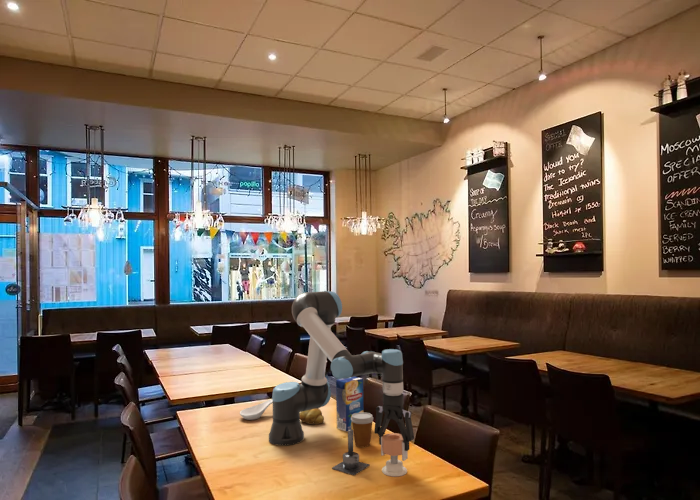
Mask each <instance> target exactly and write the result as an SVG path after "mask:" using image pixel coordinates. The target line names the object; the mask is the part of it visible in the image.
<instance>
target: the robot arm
mask: <svg viewBox="0 0 700 500" xmlns="http://www.w3.org/2000/svg"><path fill="white" fill-rule="evenodd" d="M342 312H343V303H342V300H341V298H340V296H339V295H338V294H337V293H336V292H334V291H329V290H328V291H326V290H324V291H311V292H309V291H307V292H302V293H300V294H298V295H297V296H296V297H295V298H294V300H293V301H292V305H291V314H292V318H293V320H294V321H295V323H296V324H297V325H298V327H302V328H303V329H304V330H305V331H306V332H307V333H308V335H309V345H308V350H307V351H308V353H307V360H306V361H307V362H306V368H305V374H303V376H302V377H301V383H299V382H297V381H288V382H287V381H286V382H283V383H280V384H277V385H276V386H274V387H273V389H272V397H271V399H272V400H273V403H272V424H271V426H270V429H269V430H270V431H269V434H268V442H269V443H270V444H272V445H275V446H292V445H296V444H299V443H301V442H303V441H304V439H305V432H304V430H303V427H302V423H301V420H300V412H302V411H307V410H311V409H315V408H316V409H317V408H319V409H320V408H322V407H324V406H326V405H327V404H329V402H330V400H331V396H332V389H331V386H330V383H329V381H328V379H327V377H325V374H326V367H327V361H328V360H329V361H330V362H331V363H330V372H331V374H332V376H333V377H334V378H335V379H336V380H338V379H346V378H350V377H358V376H364V375H365V376H366V375H369V374H374V373H375V374H378V375H382V379H381V380H382V392H383V394H382V405H378V406H377V407H375V412H376V415H375V422H374V432H373V433H374V434H375V435H378V444H379V445H380V455H381V456H384V455H386V454H384V452H383V451H382V436H384V435H385V434H386V431H387V428H388V425H389V422H390V421H391V420H393V421H395V423H396V424H397V427H398V429H399V432H400V434H401V435H402V437H403V440H404V441H402V455H401V461H402V462H405V461H406V460H407V459H408V451H409V450H410V442H411V441H413V440H414V439H415V434H414V427H413V423H412V411H411V410H409V411H408V410H405V408H404V403H405V402H404V370H403V369H404V360H403V352H402V351H401V350H400V349H396V348H395V349H394V348H389V349H388V348H387V349H383V350H382V351H381V353H380V352H375V351H372V350H370V351H368V350H366V351H363V352H362V353H361V354H356V355H355V354H353V355H352V353H350V351H349V350H348V349H347V348H346V346H344V344H342V342H341V341H340V339H339V338H338V337H337V336H336V335H335V333H334V332H332V329H331V328H332V326H334V325H335V323H336V318H338V317H340V316H341V314H342ZM327 359H328V360H327ZM383 413H384V416H383Z"/></svg>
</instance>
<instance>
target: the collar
mask: <svg viewBox="0 0 700 500" xmlns="http://www.w3.org/2000/svg"><path fill="white" fill-rule="evenodd" d="M402 441H404V440H403V437H402V435H401V433H396V432H392V433H390V432H389V433H385V434H384V436H382V451H383V452H384V454H385V455H388V456H390V457H391V456H397V455H398V456H402Z"/></svg>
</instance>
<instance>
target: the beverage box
mask: <svg viewBox="0 0 700 500" xmlns="http://www.w3.org/2000/svg"><path fill="white" fill-rule="evenodd" d="M335 383H336V384H335V385H336V386H335V387H336V388H335V394H336V395H335V396H336V397H335V398H336V399H335V401H336V402H335V403H336V409H335V410H336V429H339V430H341V431H344V432H347V433H348V430H349V429H352V430H353V425H352V421H351V417H352V415H353V414H355V413H360V412H364V378H363V377H358V376H355V377H350V378H346V379H336V380H335ZM364 413H365V412H364Z"/></svg>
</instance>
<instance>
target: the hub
mask: <svg viewBox="0 0 700 500" xmlns="http://www.w3.org/2000/svg"><path fill="white" fill-rule="evenodd" d="M403 462H404V461H402V460H400V459H399V455H397V456H391V455H390V459H388V460H386V461H385V465H384V466H382V468H381V472H382V474H384V476H385V475H386V476H388V477H394V478H395V477H398V478H399V477H402V476H405V475H406V474H407V473H408V469H407V467H405V466H404V465H403V464H404V463H403Z"/></svg>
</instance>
